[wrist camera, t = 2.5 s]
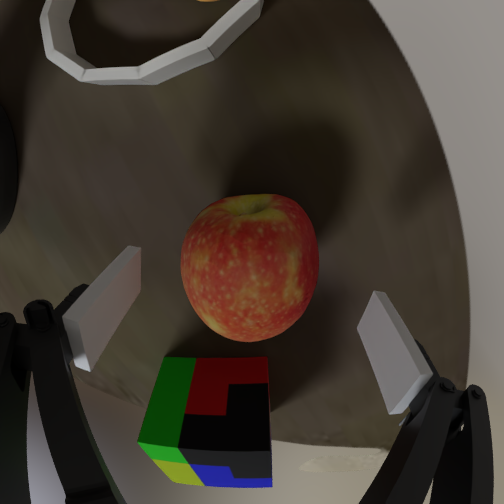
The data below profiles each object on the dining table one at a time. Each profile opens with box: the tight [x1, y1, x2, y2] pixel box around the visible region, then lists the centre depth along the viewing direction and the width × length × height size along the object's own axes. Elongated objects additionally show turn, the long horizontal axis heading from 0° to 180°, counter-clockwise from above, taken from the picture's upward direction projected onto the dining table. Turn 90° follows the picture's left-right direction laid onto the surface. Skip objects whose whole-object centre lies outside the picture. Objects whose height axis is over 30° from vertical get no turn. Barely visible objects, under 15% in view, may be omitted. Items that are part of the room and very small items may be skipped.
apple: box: [181, 194, 319, 342], centre depth 17 cm, size 8×8×8 cm
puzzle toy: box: [137, 357, 272, 488], centre depth 23 cm, size 10×10×10 cm
